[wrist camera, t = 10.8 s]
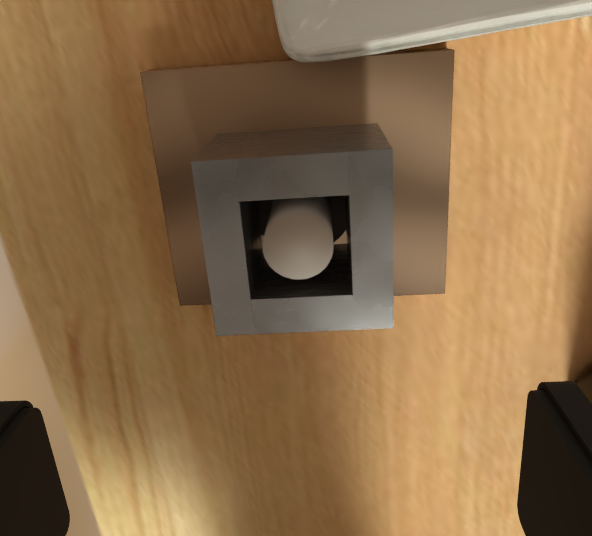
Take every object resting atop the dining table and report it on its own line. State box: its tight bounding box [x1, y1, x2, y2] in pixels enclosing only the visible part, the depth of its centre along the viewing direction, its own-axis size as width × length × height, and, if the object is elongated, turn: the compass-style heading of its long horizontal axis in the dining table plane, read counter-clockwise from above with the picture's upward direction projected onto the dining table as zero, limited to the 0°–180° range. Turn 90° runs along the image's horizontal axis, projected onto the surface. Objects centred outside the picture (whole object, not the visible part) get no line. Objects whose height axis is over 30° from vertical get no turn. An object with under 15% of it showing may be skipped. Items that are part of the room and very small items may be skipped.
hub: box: [191, 123, 393, 336], centre depth 21 cm, size 6×6×5 cm
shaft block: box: [141, 48, 454, 306], centre depth 23 cm, size 11×13×8 cm
